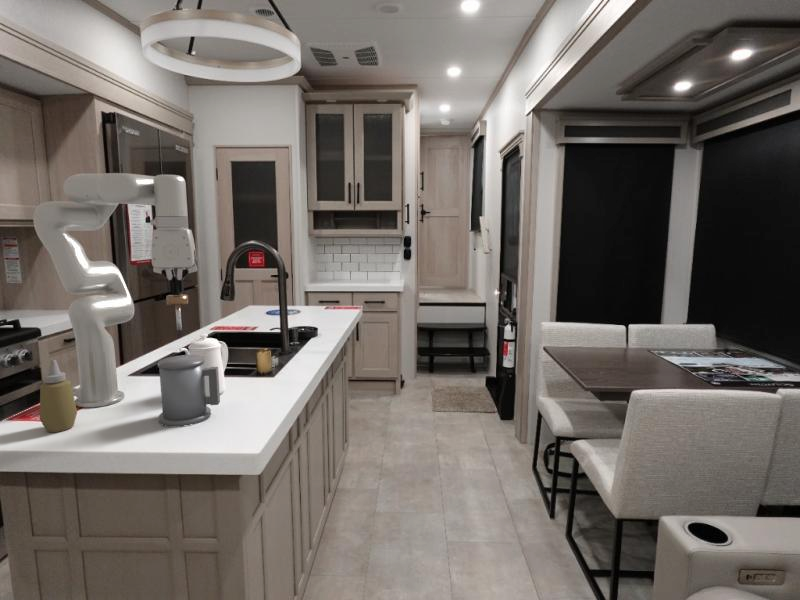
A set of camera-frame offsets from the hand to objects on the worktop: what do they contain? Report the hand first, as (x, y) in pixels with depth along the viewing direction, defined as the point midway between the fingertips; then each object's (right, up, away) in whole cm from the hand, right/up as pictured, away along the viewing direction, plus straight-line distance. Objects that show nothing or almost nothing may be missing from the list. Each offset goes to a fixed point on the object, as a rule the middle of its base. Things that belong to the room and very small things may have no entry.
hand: (177, 294), depth 131 cm
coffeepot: (-2, -31, +24) cm, 39 cm away
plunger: (0, -9, +1) cm, 10 cm away
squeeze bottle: (-29, -35, -2) cm, 46 cm away
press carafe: (+1, -33, +5) cm, 34 cm away
